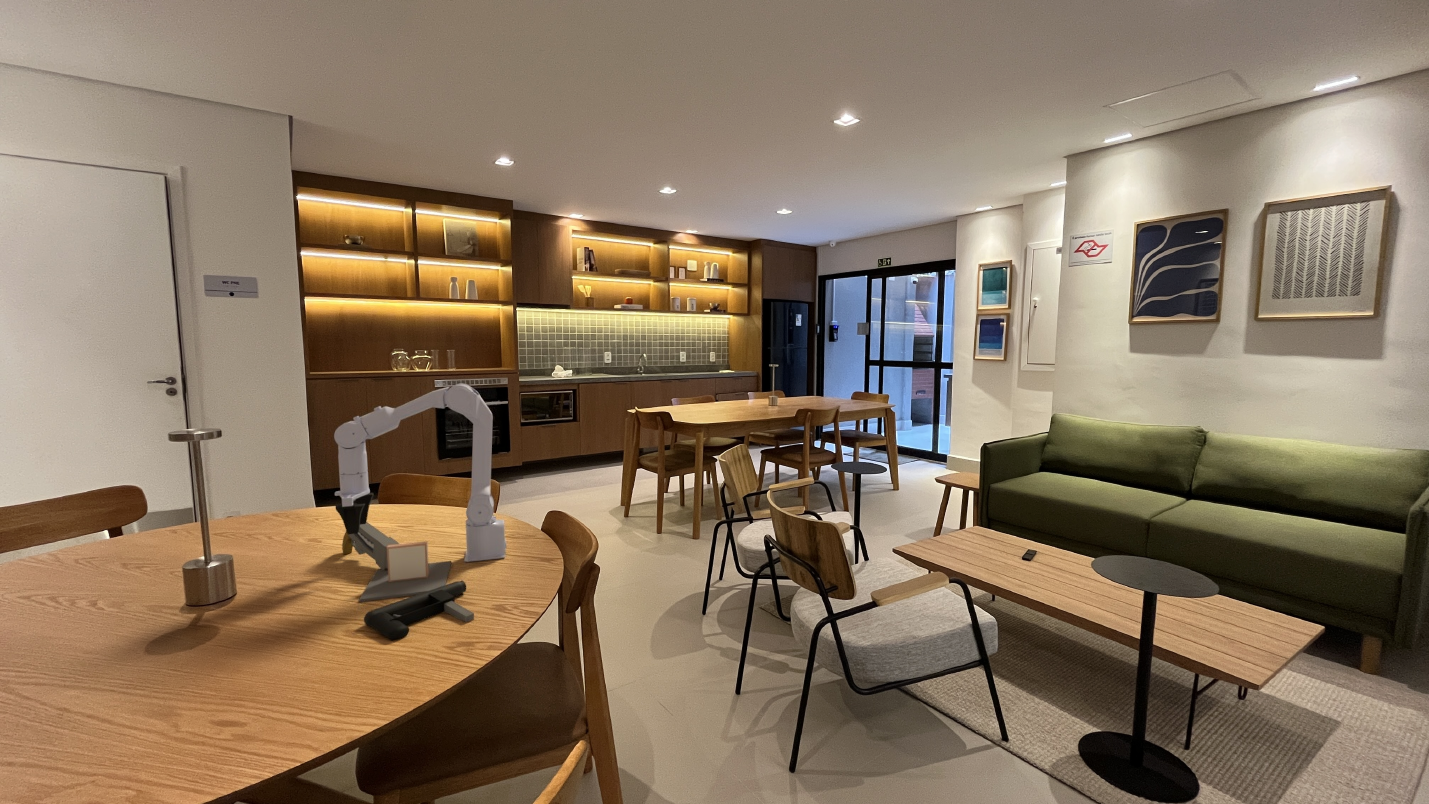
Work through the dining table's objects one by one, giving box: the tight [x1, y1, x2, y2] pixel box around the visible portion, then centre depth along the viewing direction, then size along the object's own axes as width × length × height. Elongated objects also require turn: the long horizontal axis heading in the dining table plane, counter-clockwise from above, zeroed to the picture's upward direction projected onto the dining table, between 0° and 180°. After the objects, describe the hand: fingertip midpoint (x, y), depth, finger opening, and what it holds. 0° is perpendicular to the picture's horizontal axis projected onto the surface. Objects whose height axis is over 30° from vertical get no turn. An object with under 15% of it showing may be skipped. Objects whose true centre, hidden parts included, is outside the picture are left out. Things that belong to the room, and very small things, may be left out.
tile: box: [387, 540, 429, 582], centre depth 132 cm, size 8×2×8 cm, turn 109°
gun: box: [341, 521, 400, 570], centre depth 144 cm, size 3×25×15 cm, turn 56°
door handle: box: [363, 580, 475, 641], centre depth 115 cm, size 3×20×16 cm
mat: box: [358, 560, 452, 603], centre depth 133 cm, size 16×18×1 cm
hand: (357, 528), depth 139 cm, fingers open, 7 cm apart
